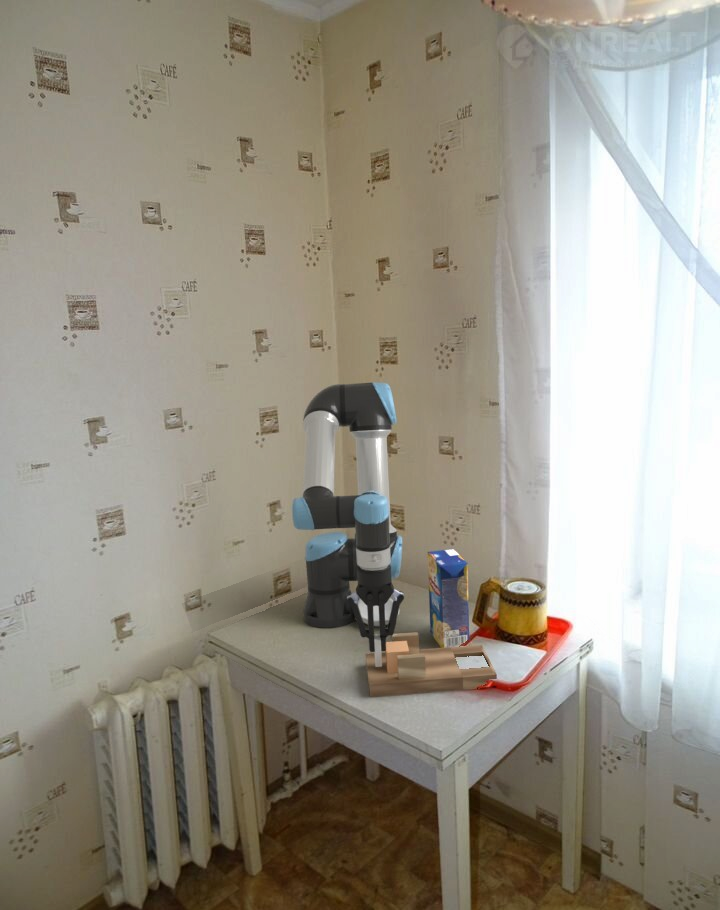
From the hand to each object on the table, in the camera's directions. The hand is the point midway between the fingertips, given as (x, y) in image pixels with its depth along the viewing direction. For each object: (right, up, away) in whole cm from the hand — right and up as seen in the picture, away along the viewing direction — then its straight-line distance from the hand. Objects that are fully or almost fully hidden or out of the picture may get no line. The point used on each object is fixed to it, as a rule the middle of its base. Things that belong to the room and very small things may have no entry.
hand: (378, 663), depth 153 cm
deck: (+12, -3, +2) cm, 12 cm away
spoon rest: (-1, +2, +37) cm, 37 cm away
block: (+4, -1, 0) cm, 5 cm away
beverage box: (+19, 0, +19) cm, 26 cm away
